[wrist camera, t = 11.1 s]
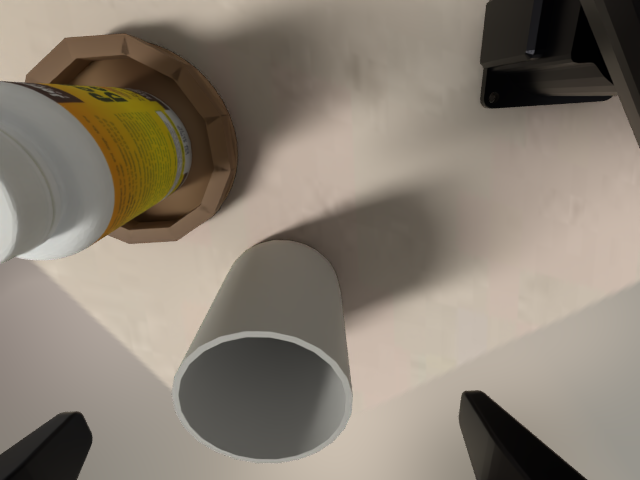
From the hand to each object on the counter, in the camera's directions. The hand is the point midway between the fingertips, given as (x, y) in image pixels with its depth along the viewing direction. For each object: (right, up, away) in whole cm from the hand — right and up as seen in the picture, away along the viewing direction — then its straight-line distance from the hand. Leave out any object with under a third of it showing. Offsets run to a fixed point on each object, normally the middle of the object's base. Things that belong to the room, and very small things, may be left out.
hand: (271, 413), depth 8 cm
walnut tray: (-8, +9, +10) cm, 16 cm away
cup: (-2, 0, +14) cm, 14 cm away
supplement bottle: (-8, +9, +10) cm, 16 cm away
